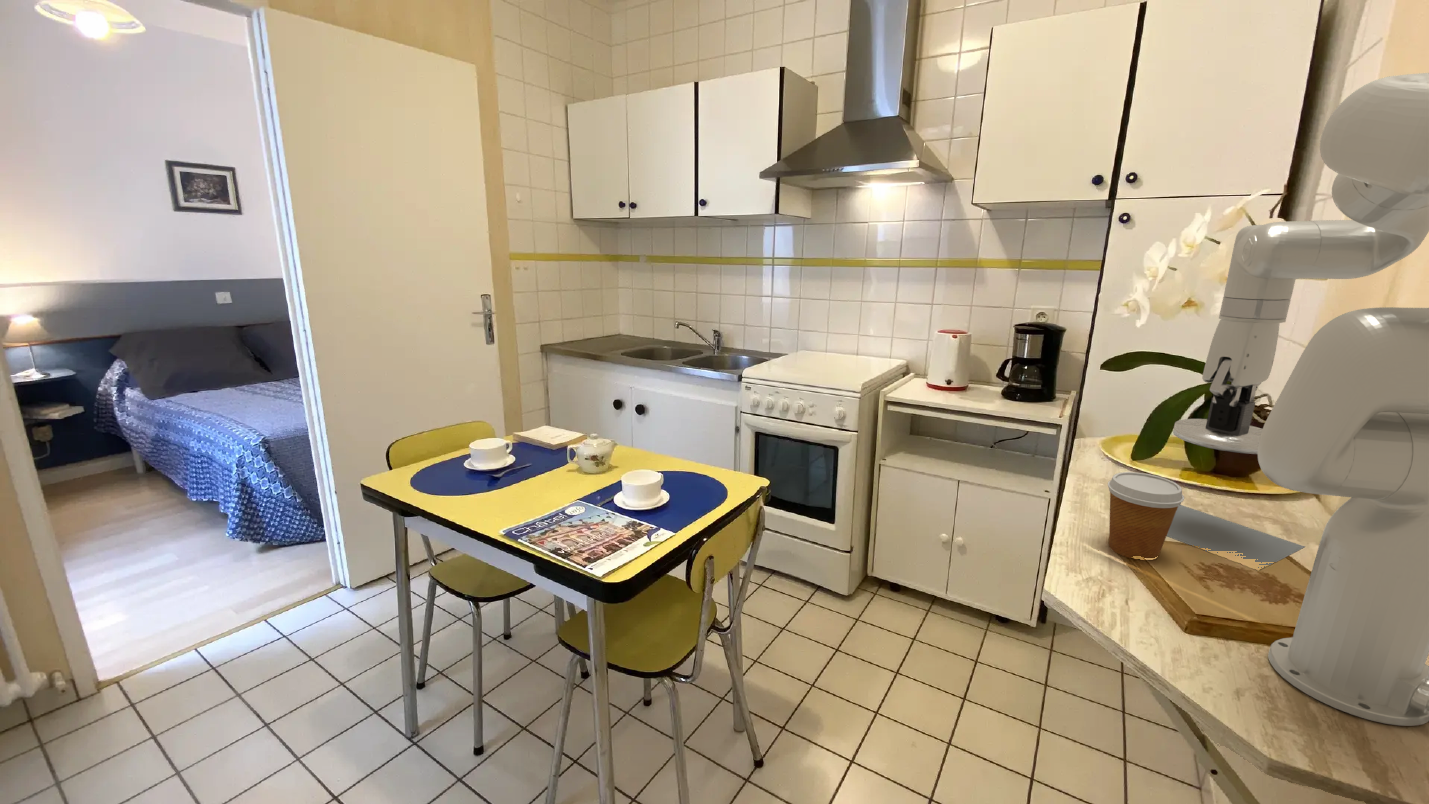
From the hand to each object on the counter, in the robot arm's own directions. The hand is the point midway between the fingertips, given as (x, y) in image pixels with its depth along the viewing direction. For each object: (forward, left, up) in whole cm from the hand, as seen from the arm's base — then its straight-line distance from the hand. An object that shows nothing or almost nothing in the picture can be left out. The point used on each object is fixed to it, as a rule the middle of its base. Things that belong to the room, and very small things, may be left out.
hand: (1227, 426), depth 93 cm
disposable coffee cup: (+2, +16, -19) cm, 25 cm away
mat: (0, -1, -19) cm, 19 cm away
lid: (0, 0, -2) cm, 2 cm away
